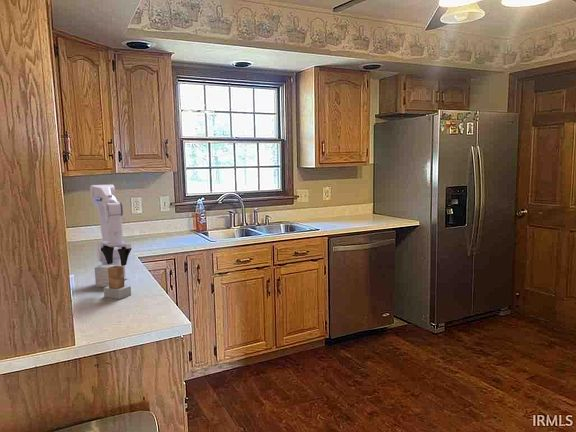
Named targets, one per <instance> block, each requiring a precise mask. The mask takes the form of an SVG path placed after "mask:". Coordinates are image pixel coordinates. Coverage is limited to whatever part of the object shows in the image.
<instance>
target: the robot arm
mask: <svg viewBox="0 0 576 432" xmlns="http://www.w3.org/2000/svg"><path fill="white" fill-rule="evenodd" d="M115 188H116V187H115V185H114V184H111V183H110V184H91V185H90V187H89V194H90V203H91V205H92V206H94V207H96V209H97V211H98V219H99V224H100V225H99V226H100V232H101V233H100V234H101V239H102V240H101V241H99V242H98V244H97V246H96V255H97V261H99V263H100V262H101V265H117V266H123V267H124V281H125V280H128V277H127V276H126V266H127V263H128V260H129V255H130V253H131V251H132V243H131V242H126V241H124V237H123V236H124V234H123V220H122V219H123V217H122V216H123V215H124V207H123V203H122V202H121V201H118V200H117V198H116V189H115Z"/></svg>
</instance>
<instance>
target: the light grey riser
mask: <svg viewBox="0 0 576 432" xmlns="http://www.w3.org/2000/svg"><path fill="white" fill-rule="evenodd" d="M124 285H125V284H124ZM131 295H132V289H131V285H127V284H126V285H125V286H124V287H121V288H119V289H113V288H109V286H108V287H103V297H105V298H110V299H117V300H121V299H124V298H126V297H128V296H131Z"/></svg>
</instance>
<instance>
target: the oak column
mask: <svg viewBox="0 0 576 432" xmlns="http://www.w3.org/2000/svg"><path fill="white" fill-rule="evenodd" d="M108 277H109V288H113V289H119V288H121V287H124V286H125V280H124V267H123V266H113V267H109V268H108Z"/></svg>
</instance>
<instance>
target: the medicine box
mask: <svg viewBox="0 0 576 432" xmlns="http://www.w3.org/2000/svg"><path fill="white" fill-rule="evenodd" d="M113 266H117V265H102V264H101V265H100V264H99V265H97V266H95V267H94V277H95V281H94V282H95V288H105V287H108V286H109V277H108V268H109V267H113Z"/></svg>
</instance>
